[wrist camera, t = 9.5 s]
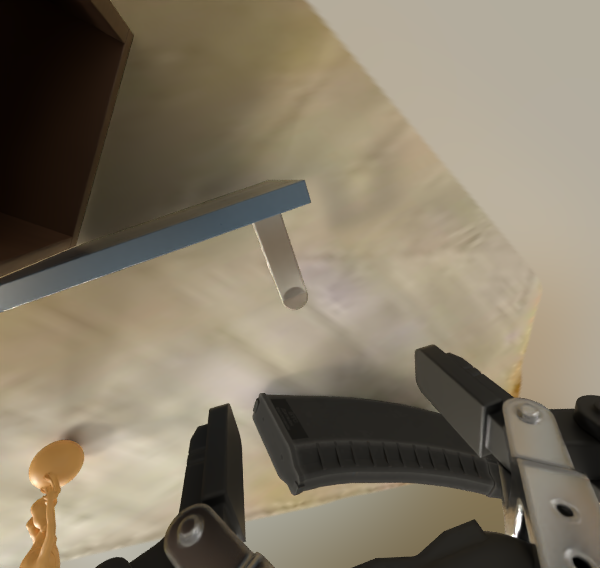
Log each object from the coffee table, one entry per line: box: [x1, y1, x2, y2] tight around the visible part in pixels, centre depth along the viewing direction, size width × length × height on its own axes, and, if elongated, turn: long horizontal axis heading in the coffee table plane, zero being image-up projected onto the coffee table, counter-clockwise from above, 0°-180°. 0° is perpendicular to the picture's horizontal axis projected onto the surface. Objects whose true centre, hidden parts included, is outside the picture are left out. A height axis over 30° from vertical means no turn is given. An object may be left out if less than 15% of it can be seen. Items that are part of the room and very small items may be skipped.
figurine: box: [20, 440, 84, 568], centre depth 24 cm, size 8×6×12 cm
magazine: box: [253, 393, 502, 499], centre depth 32 cm, size 17×3×30 cm
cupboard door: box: [0, 180, 311, 313], centre depth 19 cm, size 6×16×14 cm, turn 107°
